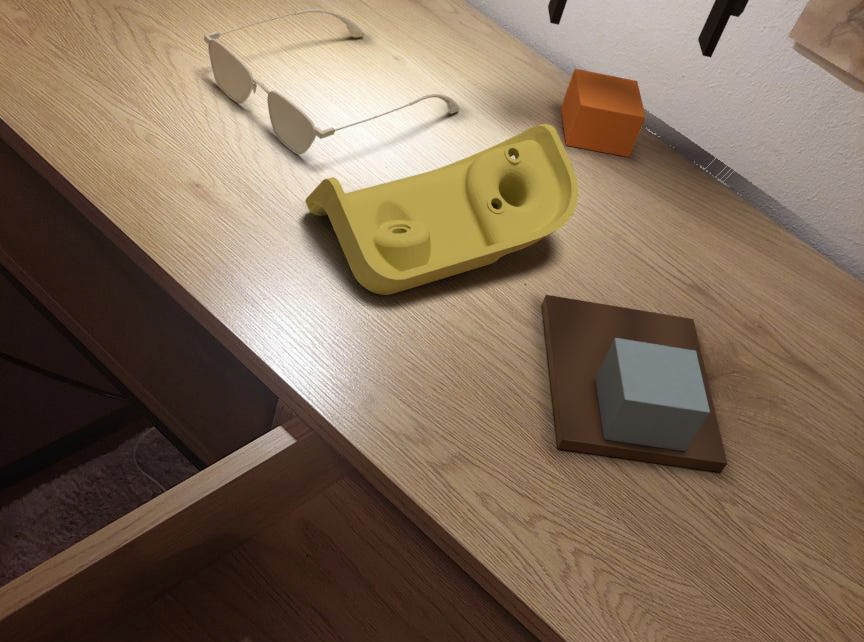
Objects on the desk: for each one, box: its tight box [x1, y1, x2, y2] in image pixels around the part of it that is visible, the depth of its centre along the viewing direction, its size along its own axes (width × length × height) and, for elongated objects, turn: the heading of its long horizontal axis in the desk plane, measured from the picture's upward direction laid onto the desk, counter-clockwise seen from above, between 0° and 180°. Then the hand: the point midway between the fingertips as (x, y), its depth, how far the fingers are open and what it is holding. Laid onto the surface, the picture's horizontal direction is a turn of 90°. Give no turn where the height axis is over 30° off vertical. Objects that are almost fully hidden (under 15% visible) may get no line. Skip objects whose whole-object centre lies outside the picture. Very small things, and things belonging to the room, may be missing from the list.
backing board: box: [541, 294, 728, 473], centre depth 78 cm, size 12×15×1 cm
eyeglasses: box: [203, 8, 461, 155], centre depth 92 cm, size 15×18×4 cm
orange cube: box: [560, 68, 646, 158], centre depth 97 cm, size 6×6×4 cm
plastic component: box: [304, 123, 579, 296], centre depth 83 cm, size 20×7×10 cm
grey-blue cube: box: [595, 338, 710, 451], centre depth 74 cm, size 6×6×4 cm
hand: (629, 32), depth 91 cm, fingers open, 13 cm apart
